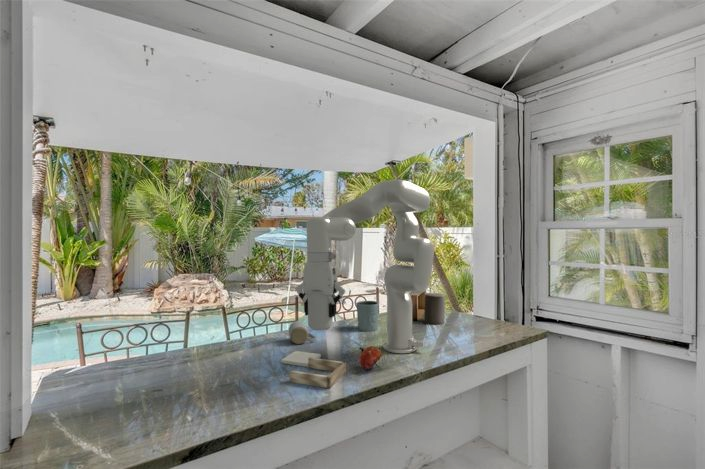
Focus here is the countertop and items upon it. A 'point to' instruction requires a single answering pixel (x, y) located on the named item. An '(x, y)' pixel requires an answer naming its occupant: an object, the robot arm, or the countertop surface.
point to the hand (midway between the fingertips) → (320, 315)
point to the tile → (299, 358)
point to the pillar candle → (434, 308)
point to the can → (319, 311)
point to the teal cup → (367, 315)
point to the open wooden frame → (320, 380)
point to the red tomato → (369, 357)
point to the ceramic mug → (300, 333)
